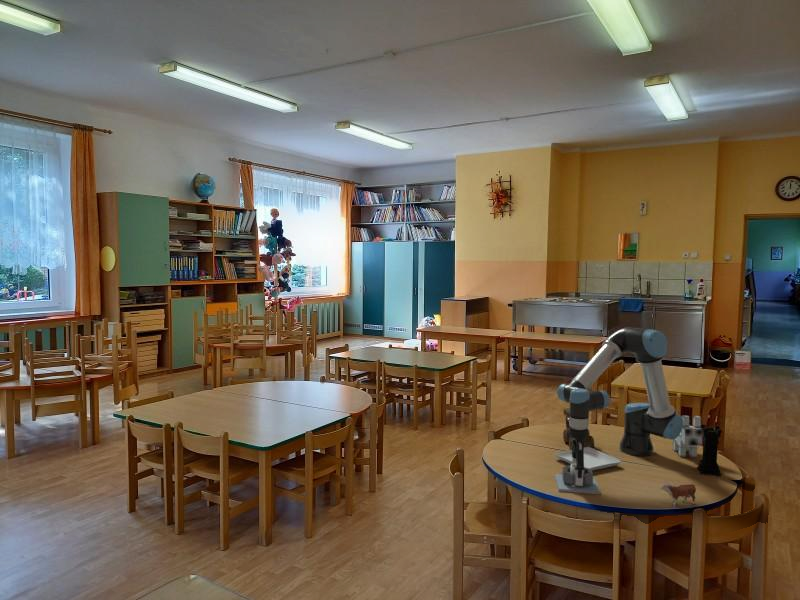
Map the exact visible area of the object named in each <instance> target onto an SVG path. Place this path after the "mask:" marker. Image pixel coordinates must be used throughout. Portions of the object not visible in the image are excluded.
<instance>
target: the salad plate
mask: <svg viewBox="0 0 800 600" xmlns="http://www.w3.org/2000/svg"><path fill="white" fill-rule="evenodd" d="M571 453H572V450H571V449H570V450H565V451H559V452H555V453H554V456H555V457H556V458H557V459H558V460H561V461H562V462H565V463H567V464H569V465H571V464H572V454H571ZM621 463H622V461H621V460H620V459H618V458H615V457H613V456H612V455H610V454H607V453H605V452H602V451H599V450H597V449H595V448H594V449H593V448H590V447H584V467H586V468H589V469H591V470H592V472H594V471H598V470H601V469H607V468H610V467H616V466H617V465H619V464H621Z"/></svg>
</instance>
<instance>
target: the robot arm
mask: <svg viewBox="0 0 800 600" xmlns="http://www.w3.org/2000/svg"><path fill="white" fill-rule="evenodd" d="M667 352H668V340H667V337H666V336H665V334H664V333H663V332H661V331H659V330H655V329H652V328H642V327H641V328H640V327H631V326H627V327H623V328H620V329H617V330H616V331H614V332H613V333H611V334H610V335H609V336H607V337H606V338H605V339H604V341H602V343H601V347H600V349H599V350H598V351H597V352H596V353H595V354H594V355H593V356H592V358H590V359H589V361H588V362H587V363H586V364H585V365H584V367H582V369H580V370H579V372H578V373H577V374H576V375H575V376H574V377H573V379H571V380H570V382H569V383H562V384H560V385H559V386H558V387H557V389H556V392H557V393H556V394H557V397H558V399H559V400H560V401H562V402H565V403H567V404H568V403H569V408H570V414H569V416H570V417H569V418H570V419H568V421H569V426H570V427H569V436H570V437H572V438H573V444H572V453H571V454H572V464H573V463H576V467H577V468H575V470H576V483H575V485H579V486H583V470H584V442H583V441H582V439H586V438H588V430H589V422H590V421H589V420H590V418H589V417H590V412H592V411H599V410H603V409H606V408H608V407H609V406H610V404H611V397H610V395H609V393H608V392H606V391H605V390H599V389H598V390H591V389H590V388H591V386H592V385H593V384H594V383H595V382H596V381H597V380H598V378H600V377H601V375H602V374H603V372H605V371H606V369H608V367H609V366H610V365H611V364H612V363H613V361H614V360H615V359H617V358H620V357H621V356H622V355H623V354H625V353H629V354H634V357H635V361H636V362H637V363H639V364H640V367H641V372H642V376H643V381H644V387H645V391H646V393H647V399H648V403H647V402H633V403H632V402H631V403H628V404H626V405H625V407H624V428H623V435H622V438H621V440H620V442H619V450H620V451H621V452H622V453H625V454H628V455H632V456H640V457H641V456H643V457H644V456H648V457H649V456H652V455H653V454H654V445H653V442H652V439H651V435H653V436H657V437H659V438H663V439H664V440H665V439H668V440H673V439H675V438H677V437H678V436H679V434H680V433H681V431H682V428H683V418H682V415H680V414H677V412H676V409H675V407H674V406H673V404H672V405H671V401H670V397H669V392H668V388H667V387H668V386H667V384H666V383H667V381H666V378H665V373H664V369H663V364H662V363H663V362H662V360H663V359H664V358H665V355H666V354H667ZM579 466H580V467H579Z"/></svg>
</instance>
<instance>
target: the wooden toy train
mask: <svg viewBox="0 0 800 600" xmlns="http://www.w3.org/2000/svg"><path fill="white" fill-rule="evenodd" d="M569 414H570V407H565V408H563V415H564V416H565V427H566V428H564V429H563V433H562V437H563V442H564V443H566V444H568V445H569V449H570V450H572V444H573V438H572V437H570V436H569V427H570V426H569V421H568V419H570V418H569V417H570V416H569ZM582 441H583V442H584V447H590V448H593V449H595V439H594V437H593V436H592V435H590V430H589V429H588V438H586V439H582Z"/></svg>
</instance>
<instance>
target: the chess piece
mask: <svg viewBox="0 0 800 600" xmlns="http://www.w3.org/2000/svg"><path fill="white" fill-rule="evenodd" d="M700 428H701V432H702V459H699V463H698V466H697V467H696V468H697V470H698V473H699V474H700V475H707V476H713V475H714V476H716V477H722V474H721V469H720V466H719V464H718V447H719V446H718V445H719V444H720V442H719V438H721V435H722V434H723V430H722V429H721V427H720V425H714V427H706V424H704V423H701V425H700Z"/></svg>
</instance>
